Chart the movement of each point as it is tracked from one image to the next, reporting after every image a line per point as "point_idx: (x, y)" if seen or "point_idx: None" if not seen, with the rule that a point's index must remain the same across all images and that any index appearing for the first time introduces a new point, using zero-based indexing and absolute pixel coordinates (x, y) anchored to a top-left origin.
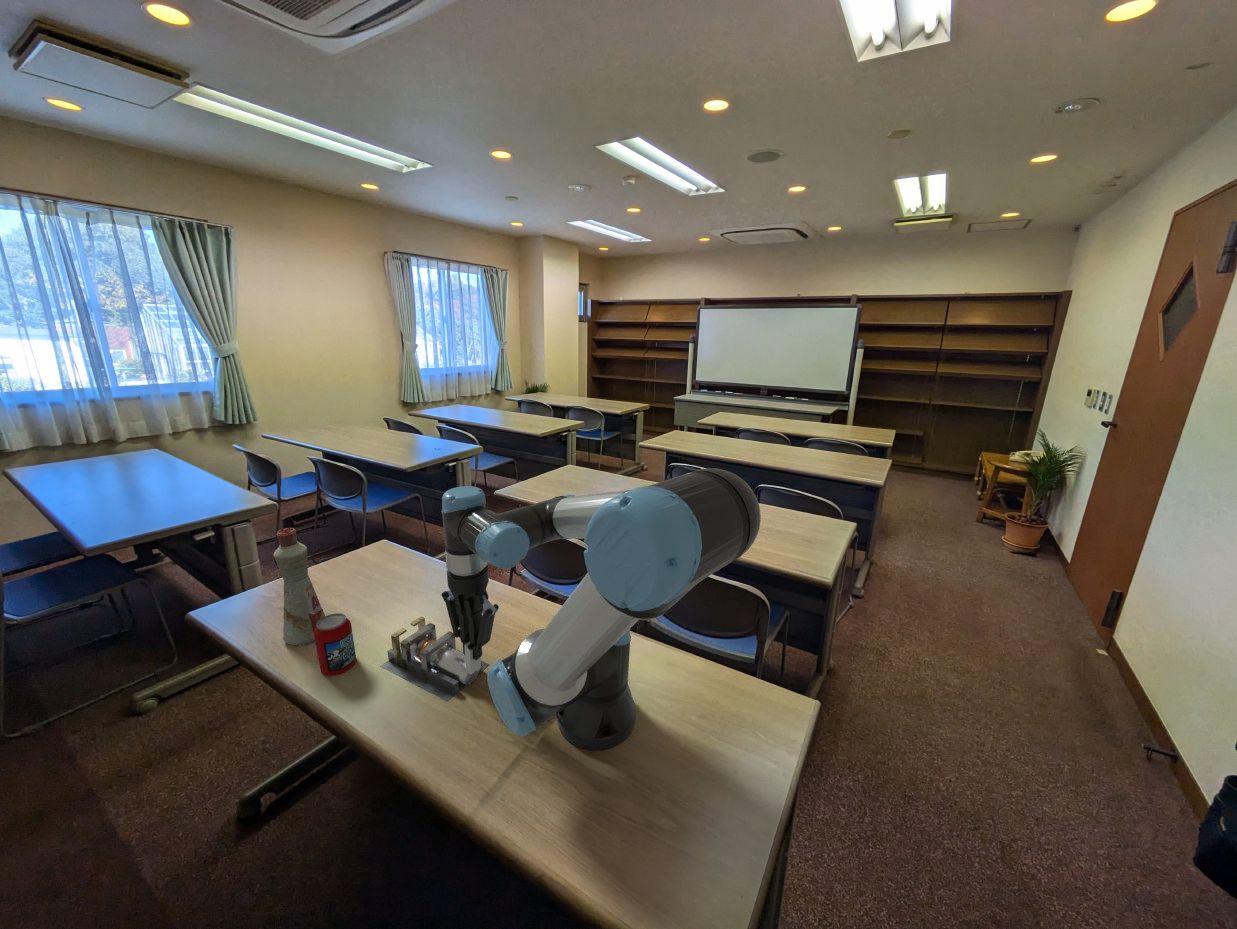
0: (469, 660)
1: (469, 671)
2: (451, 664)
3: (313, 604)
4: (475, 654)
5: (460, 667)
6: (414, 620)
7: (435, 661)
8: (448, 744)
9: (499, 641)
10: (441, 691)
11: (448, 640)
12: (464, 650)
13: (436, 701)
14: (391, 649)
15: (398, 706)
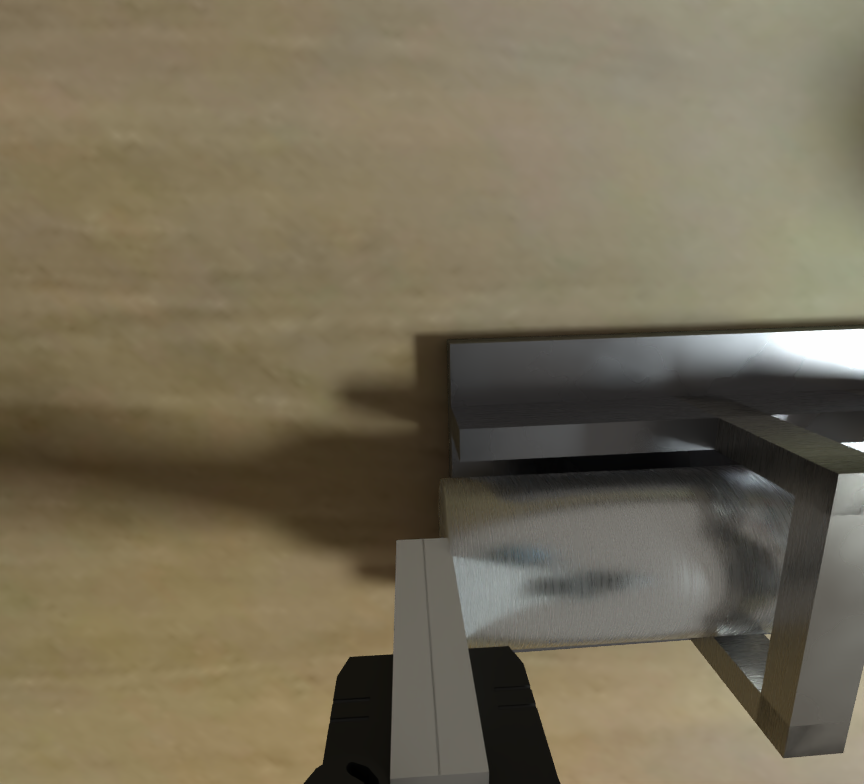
0: (407, 623)
1: (414, 550)
2: (586, 529)
3: None
4: (352, 711)
5: (499, 541)
6: None
7: (723, 494)
8: (217, 141)
9: None
10: (540, 379)
11: (776, 679)
12: (510, 688)
13: (526, 328)
14: None
15: (691, 185)
